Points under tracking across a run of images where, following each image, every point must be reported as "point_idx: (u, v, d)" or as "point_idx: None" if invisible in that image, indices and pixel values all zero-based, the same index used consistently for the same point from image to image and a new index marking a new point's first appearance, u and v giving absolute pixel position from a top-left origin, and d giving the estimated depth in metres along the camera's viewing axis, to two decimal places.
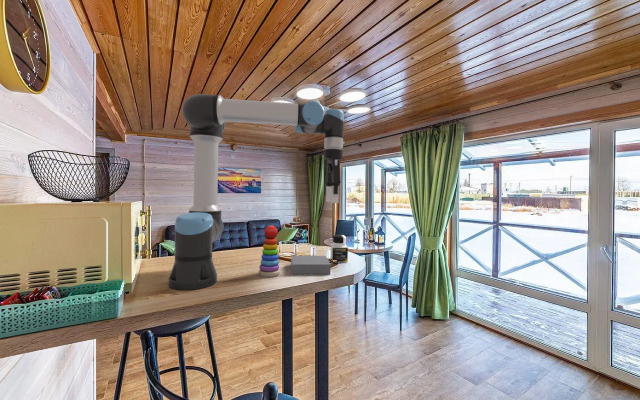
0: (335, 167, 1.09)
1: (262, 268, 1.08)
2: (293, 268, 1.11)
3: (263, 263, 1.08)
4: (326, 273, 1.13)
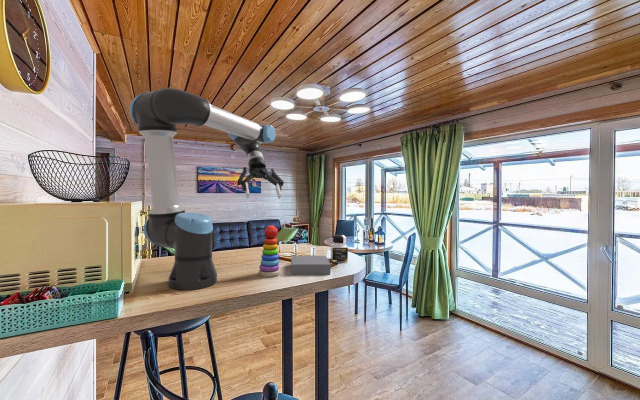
0: None
1: (262, 268, 1.08)
2: (293, 268, 1.11)
3: (263, 263, 1.08)
4: (326, 273, 1.13)
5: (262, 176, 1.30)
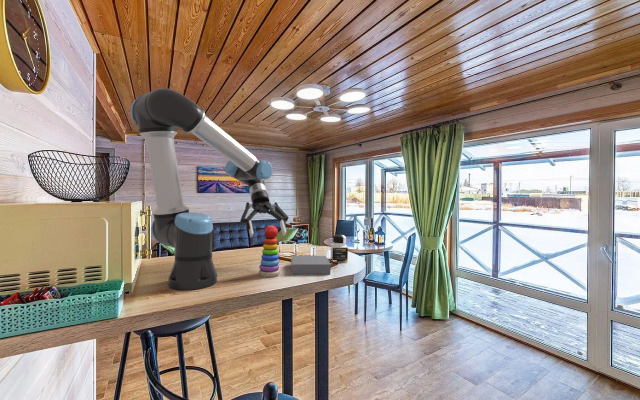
0: None
1: (262, 268, 1.08)
2: (293, 268, 1.11)
3: (263, 263, 1.08)
4: (326, 273, 1.13)
5: (266, 211, 1.24)
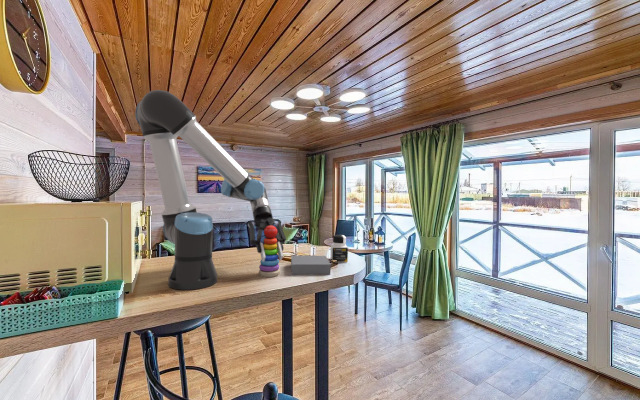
0: None
1: (262, 268, 1.08)
2: (293, 268, 1.11)
3: (263, 263, 1.08)
4: (326, 273, 1.13)
5: None
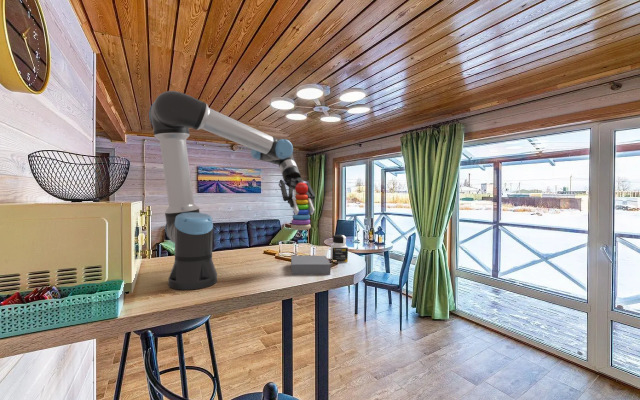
0: None
1: (295, 222, 1.14)
2: (293, 268, 1.11)
3: (296, 217, 1.14)
4: (326, 273, 1.13)
5: None
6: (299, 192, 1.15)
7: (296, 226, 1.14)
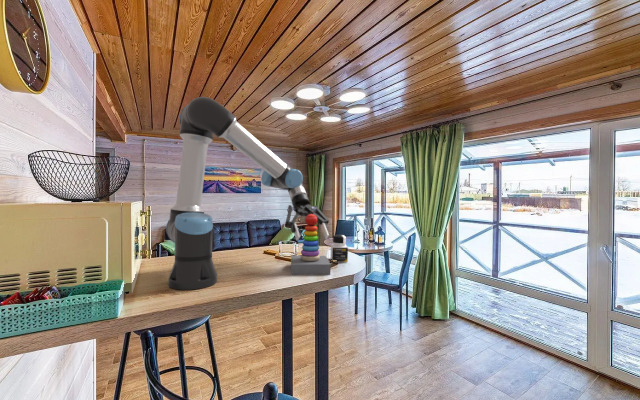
0: None
1: (304, 253, 1.17)
2: (293, 268, 1.11)
3: (305, 248, 1.17)
4: (326, 273, 1.13)
5: (307, 214, 1.25)
6: (309, 224, 1.18)
7: (306, 257, 1.16)
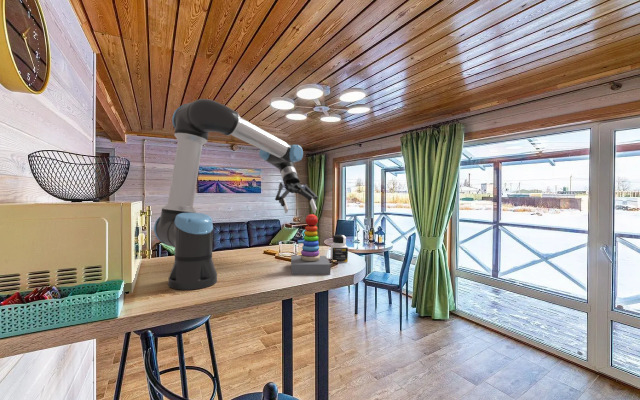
0: None
1: (304, 253, 1.17)
2: (293, 268, 1.11)
3: (305, 248, 1.17)
4: (326, 273, 1.13)
5: (297, 191, 1.36)
6: (309, 224, 1.18)
7: (306, 257, 1.16)
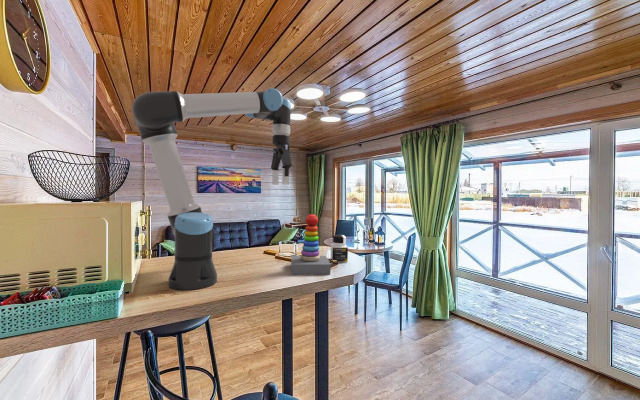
0: (286, 151, 1.20)
1: (304, 253, 1.17)
2: (293, 268, 1.11)
3: (305, 248, 1.17)
4: (326, 273, 1.13)
5: None
6: (309, 224, 1.18)
7: (306, 257, 1.16)
